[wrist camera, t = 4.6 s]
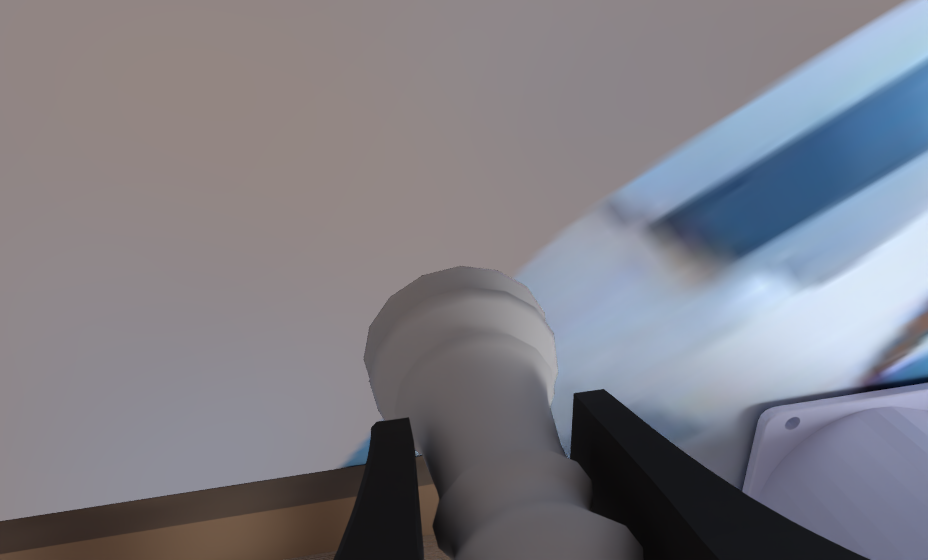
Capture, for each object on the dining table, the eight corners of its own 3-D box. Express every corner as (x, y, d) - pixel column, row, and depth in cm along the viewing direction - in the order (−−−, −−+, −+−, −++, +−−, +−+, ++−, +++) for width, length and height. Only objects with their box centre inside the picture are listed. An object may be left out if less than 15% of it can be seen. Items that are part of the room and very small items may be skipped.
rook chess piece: (563, 368, 17) (737, 669, 10) (407, 437, 17) (469, 787, 10) (509, 225, 14) (684, 483, 8) (329, 305, 14) (339, 636, 8)
